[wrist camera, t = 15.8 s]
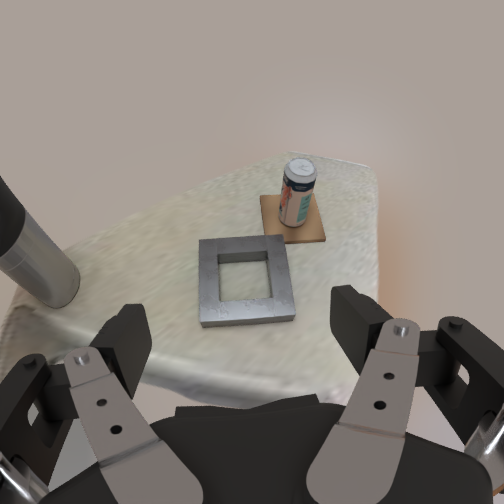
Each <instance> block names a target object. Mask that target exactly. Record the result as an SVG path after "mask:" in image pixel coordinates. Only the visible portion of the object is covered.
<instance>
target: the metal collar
mask: <svg viewBox="0 0 504 504" xmlns="http://www.w3.org/2000/svg"><path fill="white" fill-rule="evenodd" d="M262 260H266V261H267V269H268V277H269V285H270V293H271V298H262V299H249V300H235V301H220V278H219V263H234V262H248V261H262ZM295 315H296V312H295V305H294V298H293V292H292V285H291V279H290V273H289V266H288V260H287V254H286V248H285V242H284V236H283V234H276V235H261V236H246V237H231V238H217V239H203V240H199V317H200V323H201V325H202V327H203V328H205V327H223V326H238V325H252V324H264V323H275V322H285V321H293V319H294V317H295Z"/></svg>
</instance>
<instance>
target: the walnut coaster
mask: <svg viewBox="0 0 504 504" xmlns="http://www.w3.org/2000/svg"><path fill="white" fill-rule="evenodd" d="M280 199H281V195H262V196H260V203H261V211H262V218H263V226H264V233H265V235H276V234H283V236H284V242H285V244H292V243H308V242H323V241H325V240H326V237H325V233H324V229H323V225H322V222H321V218H320V214H319V211H318V207H317V203H316V200H315V196H314V193H312V196H311V200H310V204H309V208H308V212H307V216H306V220H305V222H304V223H303V224H302V225H300V226H297V227H291V226H287V225H285V224H284V223H282V222H281V220H280V218H279V215H278V214H279V207H280Z"/></svg>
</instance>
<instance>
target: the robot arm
mask: <svg viewBox="0 0 504 504" xmlns="http://www.w3.org/2000/svg"><path fill="white" fill-rule="evenodd" d="M0 270H1V271H3V272H4V273H5V274H6V275H8V276H9V277H10V278H11V279H12V280H13V281H15V282H16V283H17V284H19V285H20V286H21V287H23V288H24V289H25V290H27V291H28V292H29V293H31V294H32V295H33V296H35V297H36V298H38V299H39V300H41V301H42V302H43V303H45V304H46V305H48V306H49V307H52V308H60V307H63V306H65V305H66V304H68V303H69V302H70V301H71V300H72V299H73V297H74V296H75V294H76V292H77V290H78V287H79V282H80V275H79V271H78V269H77V267H76V266H75V265H74V264H73V263H72V262H71V261H70V259H69V258H68V257H67V256H66V255H65V254H64V253H63V252H62V251H61V250H60V249H59V248H58V246H57V245H56V244H55V243H54V242H53V241H52V240H51V239H50V238H49V236H48V235H47V234H46V233H45V232H44V231H43V229H42V228H41V227H40V226H39V225H38V224H37V222H36V221H35V220H34V219H33V218H32V217H31V215H30V214H29V213H28V212H27V210H26V209H25V208H24V207H23V205H22V204H21V203H20V202H19V201H18V199H17V198H16V197H15V196H14V194H13V193H12V192H11V190H10V189H9V188H8V186H7V185H6V183H5V182H4V181H3V179H2V178H1V176H0ZM330 327H331V331H332V334H333V335H334V337H335V338H336V340H337V341H338V343H339V345H340V346H341V348H342V349H343V351H344V352H345V354H346V356H347V357H348V359H349V360H350V362H351V363H352V365H353V367H354V368H355V370H356V371H357V373H358V374H359V376H360V377H359V380H358V382H357V384H356V386H355V389H354V391H353V393H352V395H351V397H350V399H349V402H348V404H347V406H343V405H339V404H333V403H319V400H318V398H317V395H316V394H311V395H305V396H299V397H293V398H286V399H281V400H278V401H274V402H271V403H268V404H265V405H261V406H258V407H255V408H251V409H234V408H224V407H216V406H187V407H176V411H175V416H173V417H169V418H165V419H162V420H159V421H156V422H154V423H152V424H150V425H148V423H147V422H146V420H145V419H144V418H143V416H142V415H141V413H140V412H139V411H138V409H137V408H136V407H135V405H134V403H133V402H132V399H133V397H134V394H135V391H136V388H137V385H138V383H139V380H140V378H141V375H142V372H143V370H144V367H145V364H146V362H147V359H148V357H149V354H150V351H151V348H152V339H151V334H150V330H149V326H148V322H147V318H146V313H145V309H144V306H143V305H142V304H125V305H124V306H123V308H122V309H121V310H120V312H119V313H118V315H117V316H114V317H112V318H111V319H109V320H108V321H107V322H106V323H105V324H104V326H103V327H102V329H101V330H100V331H99V332H98V334H97V335H96V337H95V338H94V339H93V341H92V342H91V343H90V345H89V346H88V347H80V348H77V349H75V350H73V351H71V352H69V353H68V354H67V355H66V356H65V358H64V364H57V365H48V363H47V361H46V358H45V357H44V356H43V355H42V354H31V355H27V356H25V357H23V358H22V359H20V360H19V361H18V362H17V363H16V365H15V366H14V367H13V368H12V370H11V371H10V372H9V373H8V375H7V376H6V377H5V378H4V380H3V381H2V382H1V383H0V504H493V496H495V495H496V494H498V493H501V494H504V350H503V349H501V348H500V347H499V346H498V345H497V344H496V343H494V342H493V341H492V340H491V339H489V338H488V337H487V336H486V335H485V334H483V333H482V332H481V331H480V330H478V329H477V328H476V327H475V326H473V325H472V324H471V323H469V322H468V321H467V320H465V319H463V318H459V317H454V316H449V317H444V318H442V319H441V320H440V321H439V324H438V329H437V330H432V331H420V327H419V326H418V324H417V323H415V322H413V321H411V320H407V319H402V318H396V319H394V318H393V317H392V316H390V315H389V314H388V313H387V312H386V311H385V310H384V309H383V308H382V307H381V306H380V305H379V304H377V303H376V302H375V301H374V300H373V299H372V298H371V297H368V296H366V295H364V294H359V293H358V292H357V291H356V290H355V289H354V288H353V287H352V286H351V285H343V286H335V287H332V290H331V305H330ZM461 364H462V365H463V366H464V367H465V369H466V370H467V371H468V373H469V384H468V385H467V384H466V383H465V382H464V381H463V380H462V378H461V377H460V376H459V375H458V372H459V369H460V366H461ZM420 386H423V387H424V388H425V390H426V391H427V392H428V394H429V395H430V396H431V398H432V399H433V401H434V402H435V404H436V405H437V406H438V408H439V409H440V411H441V412H442V413H443V415H444V416H445V418H446V419H447V420H448V422H449V423H450V425H451V426H452V428H453V429H454V431H455V432H456V434H457V435H458V436H459V438H460V439H461V441H462V442H463V444H464V445H465V449H464V453H463V452H460V451H457V450H454V449H451V448H448V447H445V446H442V445H439V444H437V443H434V442H431V441H428V440H426V439H423V438H421V437H418V436H415V435H413V434H410V433H408V432H406V428H407V423H408V419H409V414H410V409H411V405H412V400H413V394H414V389H415V387H420ZM32 403H34V405H35V406H36V408H37V410H38V411H39V413H38V415H37V417H36V419H35V421H34V423H33V424H32V426H31V425H30V424H29V421H28V410H29V409H30V407H31V405H32ZM77 418H80V420H81V423H82V426H83V428H84V431H85V433H86V435H87V438H88V440H89V442H90V445H91V447H92V449H93V451H94V454H95V456H96V458H97V460H98V461H97V462H96V463H94V464H93V465H91V466H90V467H89V468H87V469H86V470H84V471H83V472H81V473H80V474H78V475H77V476H75V477H73V478H72V479H70V480H69V481H67V482H66V483H64V484H63V485H61V486H59V487H58V488H56V489H55V490H53V491H52V492H49V489H48V485H49V482H50V479H51V476H52V473H53V471H54V468H55V465H56V462H57V459H58V457H59V454H60V452H61V449H62V447H63V444H64V441H65V439H66V437H67V434H68V432H69V429H70V427H71V425H72V422H73V419H77Z"/></svg>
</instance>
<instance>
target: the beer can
mask: <svg viewBox="0 0 504 504" xmlns="http://www.w3.org/2000/svg"><path fill="white" fill-rule="evenodd" d="M316 177H317V170H316V167H315V165H314V163H313V162H312V161H310V160H308V159H307V158H301V157H296V158H294V159H291V160H290V161H289V162H288V163H287V164H286V166H285V168H284V176H283V184H282V192H281V199H280V207H279V214H278V215H279V218H280V220H281V222H282V223H284V224H285V225H287V226H291V227H297V226H300V225H302V224H303V223H304V222H305V220H306V216H307V212H308V208H309V204H310V200H311V196H312V192H313V189H314V185H315V181H316Z"/></svg>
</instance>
